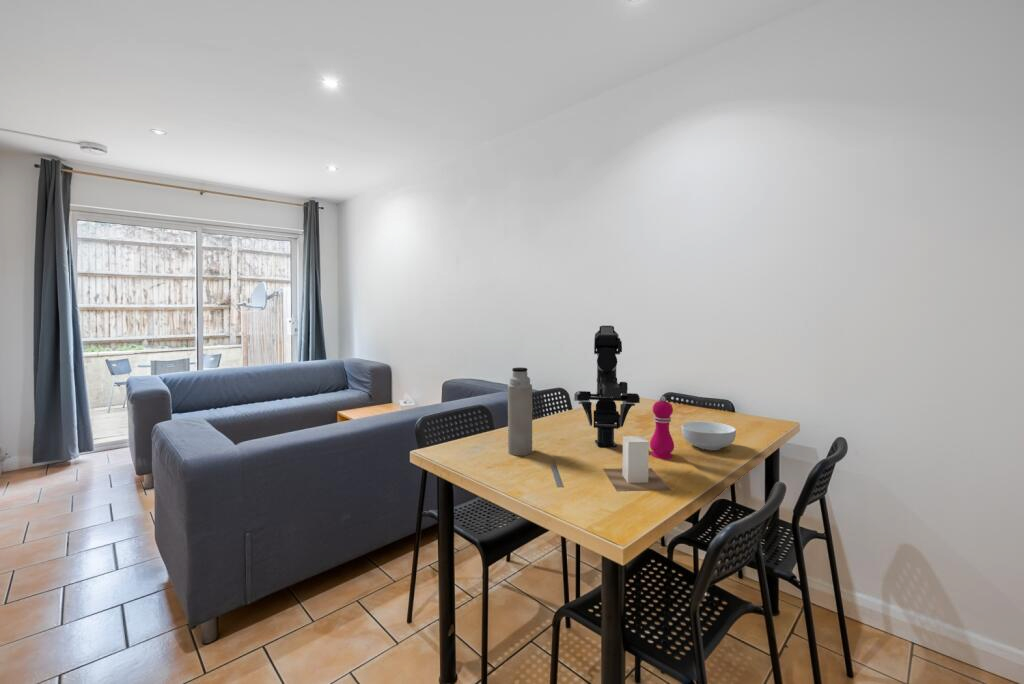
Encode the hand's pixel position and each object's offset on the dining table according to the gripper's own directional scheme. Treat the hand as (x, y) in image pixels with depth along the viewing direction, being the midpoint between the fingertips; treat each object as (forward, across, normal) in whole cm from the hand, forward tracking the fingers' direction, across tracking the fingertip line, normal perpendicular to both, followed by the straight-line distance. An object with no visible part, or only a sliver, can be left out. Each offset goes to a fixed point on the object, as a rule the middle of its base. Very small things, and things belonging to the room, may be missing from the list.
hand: (606, 426), depth 136 cm
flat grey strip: (+14, -10, -6) cm, 18 cm away
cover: (+13, +5, -11) cm, 18 cm away
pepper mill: (+10, +19, +7) cm, 23 cm away
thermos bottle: (+10, -24, +17) cm, 31 cm away
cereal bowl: (+6, +40, +18) cm, 44 cm away
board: (+15, +5, -11) cm, 19 cm away
